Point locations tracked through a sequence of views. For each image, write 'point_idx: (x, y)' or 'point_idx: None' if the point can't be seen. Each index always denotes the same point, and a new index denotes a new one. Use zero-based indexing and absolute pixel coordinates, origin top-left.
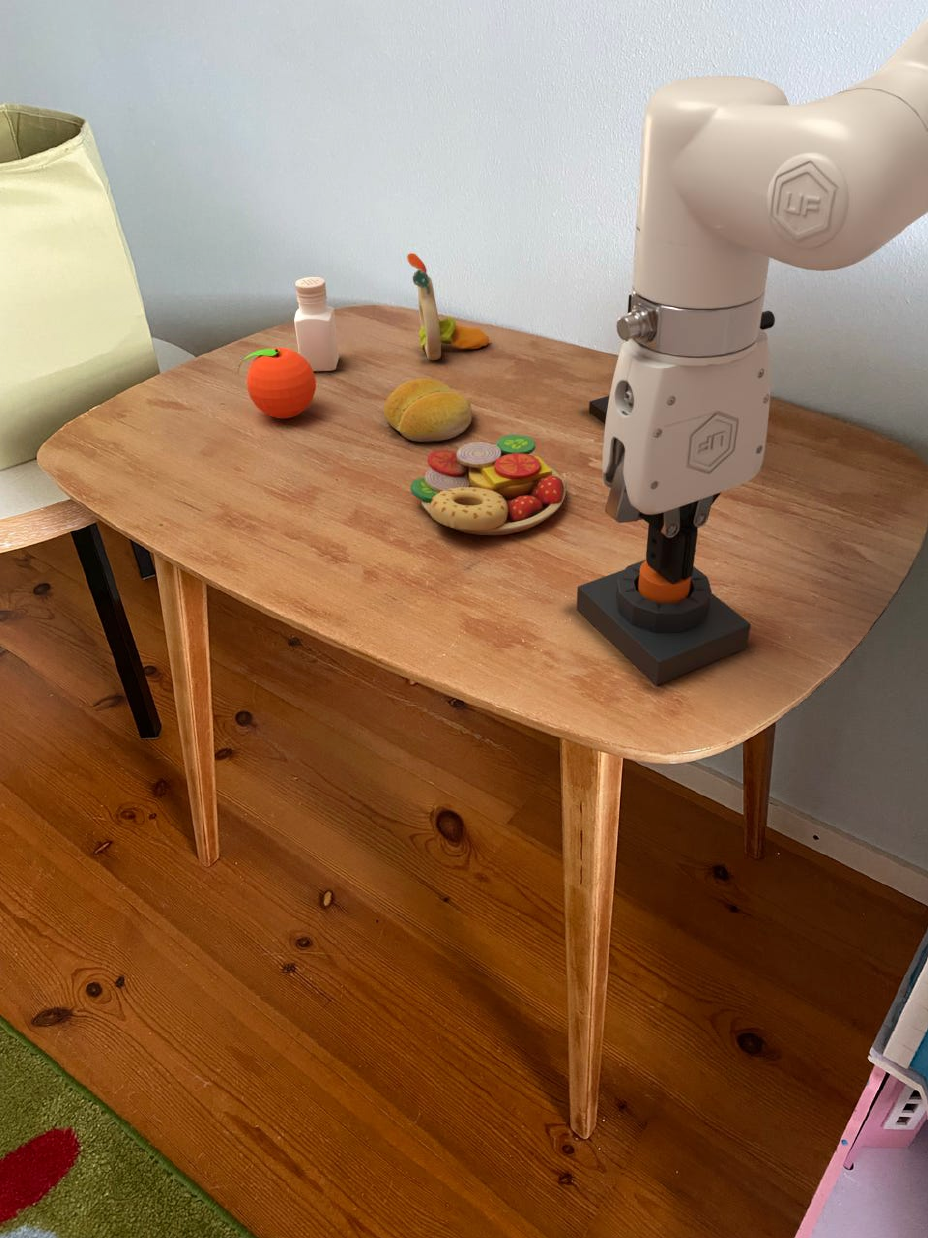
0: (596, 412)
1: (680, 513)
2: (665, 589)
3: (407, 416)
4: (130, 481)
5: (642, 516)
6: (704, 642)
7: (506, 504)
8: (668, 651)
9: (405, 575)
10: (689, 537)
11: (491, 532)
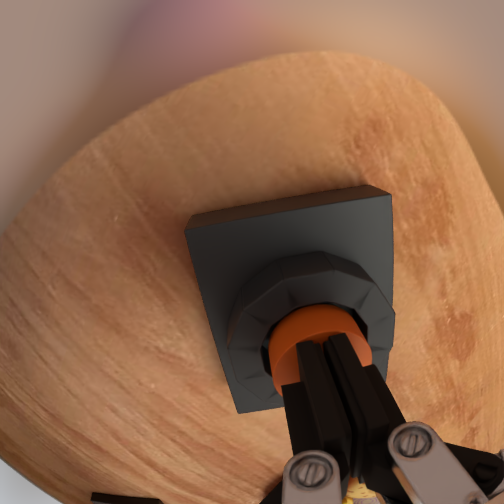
0: None
1: (343, 487)
2: (350, 327)
3: None
4: None
5: (501, 460)
6: (295, 211)
7: (352, 485)
8: (365, 212)
9: (457, 415)
10: (344, 424)
11: None
